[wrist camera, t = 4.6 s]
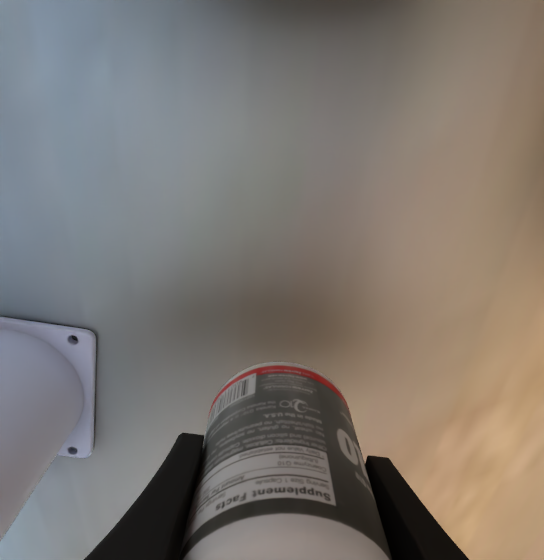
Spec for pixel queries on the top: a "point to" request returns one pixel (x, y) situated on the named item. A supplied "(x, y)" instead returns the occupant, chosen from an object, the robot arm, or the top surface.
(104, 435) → the top surface
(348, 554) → the pill bottle
